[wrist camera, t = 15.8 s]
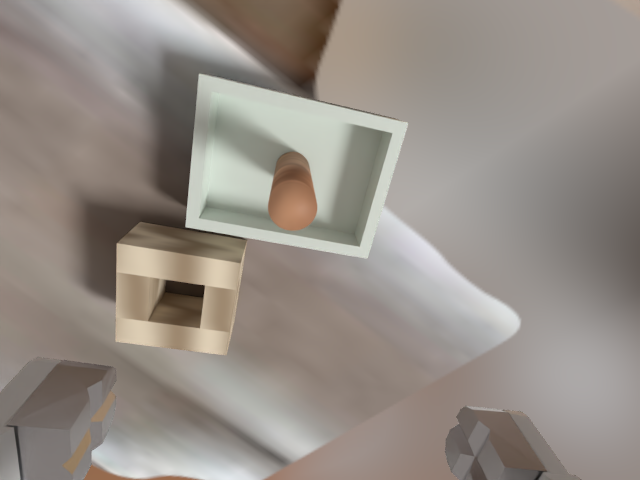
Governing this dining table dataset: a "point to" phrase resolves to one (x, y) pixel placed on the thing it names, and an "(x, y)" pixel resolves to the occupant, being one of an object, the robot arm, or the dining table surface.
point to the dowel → (292, 193)
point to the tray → (269, 145)
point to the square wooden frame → (175, 309)
